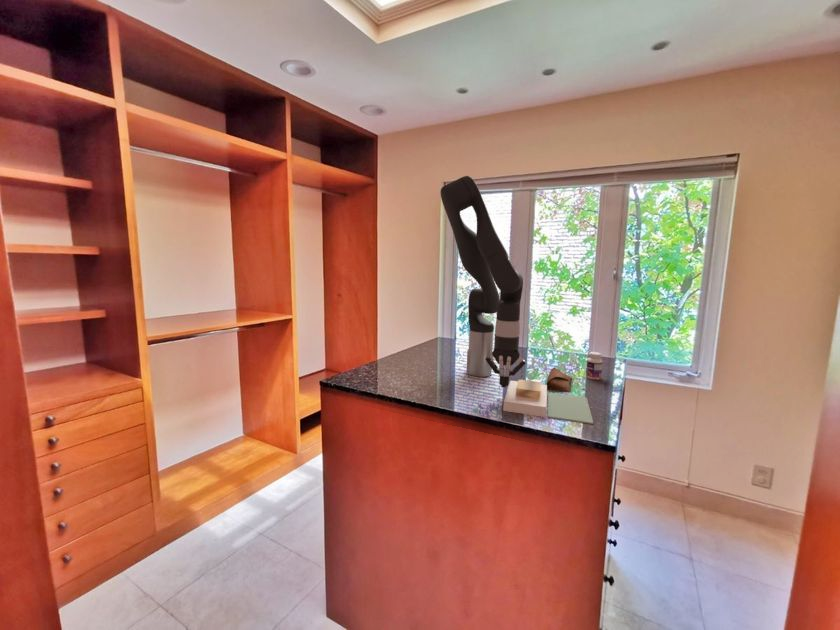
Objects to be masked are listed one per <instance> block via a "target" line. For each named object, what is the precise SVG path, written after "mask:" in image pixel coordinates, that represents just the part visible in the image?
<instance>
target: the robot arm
mask: <svg viewBox="0 0 840 630" xmlns="http://www.w3.org/2000/svg"><path fill="white" fill-rule="evenodd" d="M440 198H441V202H442V205H443V208H444V210H445V213H446V216H447V218H448V221H449V224H450V227H451V229H452V232H453V236H454V240H455V242H456V247H457V251H458V255H459V258H460V262H461V264H462V267H463V268H464V269H465V271H466V272H467V273H468V274H469V275H470V276H471V277H472V278H473V279H474V280H475V281H476V282H477V283H478V284H479V286H480V288H479V287H478V288H477V287H475V288H473V289H472V290H470V293H469V296H468V305H467V306H468V307H467V309H468V326H469V330H468V331H469V332H468V334H469V335H468V349H467V351H466V353H467V354H466V373H465V374H466V375H470V376H473V377H480V378H483V377H489V376H491V375H492V372H493V373H494V374H497V375H499V385H500V387H501V388H505V389H506V388H507V387H509V384H510V377H511V376H513V377H514V376H515V375H516V374H517V373H518V372H519V371H520V370H521V369H522V368H524V366H525V365H526V362H527V360H526V359H523V357H521V356H520V355H521V354H520V352H519V348H520V347H519V346H520V345H519V344H520V334H521V330H520V329H521V328H520V326H521V325H520V320H521V319H520V318H521V317H520V315H521V313H520V312H521V300H522V294H523V289H524V288H523V286H524V278H523V276H522V274H521V272H519V271H518V270H515V269H514V267H513V264H512V263H511V261H510V260H509V254H508V251H507V250H506V247H505V246H504V244H503V243H502V240H501V239H500V237H499V235H498V234H497V232H496V230H495V227H494V224H493V221H492V219H491V217H490V214H489V212H488V208H487V206H486V203H485V201H484V199H483V196H482V194H481V191H480V188H479V187H478V185H477V183H476V181H475V180H474V179H473V178H472V177H471V176H469V175H465V176H461V177H460V178H458V179H454V180H453V181H451V182H448V183H447V184H445V185H443V186H442V187H441V188H440ZM471 207H472V208H473V211H474V212H475V216H476V232H475V231H474V230H473V229H471V228H470V227H468V225H466V223H465V222H464V220H463V218H462V216H461V211H464V210H466V209H468V208H471ZM498 290H500V293H499V291H498ZM495 313H496V320H495V325H494V323H493V322H491V321H489V320H488V319H486V318H485V317H484V315H483V314H488V315H489V314H490V315H491V314H492V315H493V314H495ZM494 360H495V361H494ZM495 362H496V363H495ZM516 362H517V365H516V366H515V367H514V368H513V369H511V367H512V366H513V365H514V364H515V363H516ZM496 364H498V365H496Z"/></svg>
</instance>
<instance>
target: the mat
mask: <svg viewBox="0 0 840 630" xmlns="http://www.w3.org/2000/svg"><path fill="white" fill-rule="evenodd" d="M591 412H592V411H591V409H590V405H589V402H588V398H587V397H585V396H580V395H572V394H571V395H569V394H561V393H554V392H547V418H551V419H557V420H562V421H563V420H564V421H571V422H576V423H581V424H583V423H584V424H590V425H593V424H594V420H593V416H592V413H591Z"/></svg>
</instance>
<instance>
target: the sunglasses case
mask: <svg viewBox="0 0 840 630" xmlns="http://www.w3.org/2000/svg"><path fill="white" fill-rule="evenodd" d="M572 380H573V377H572V376H570V375H568V374H566V373H564V372H562V371H561V370H560V369H558V368H556V367H552V369H550V372H549V373H548V377H547V380H546V384H545V385H547V391H548V390H549V391H555V392H563V393H571V382H572Z"/></svg>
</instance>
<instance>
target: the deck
mask: <svg viewBox="0 0 840 630" xmlns="http://www.w3.org/2000/svg"><path fill="white" fill-rule="evenodd" d="M517 384H518V380H510V379H509V384H508V386H507V390H506V394H505V396H504V400H503V407H502V408H503V409H502V411H503V412H510V413H516V414H522V415H530V416H537V417H544V418H546V417H547V406H548V390H547V385H546V384H543V383H541V387H540V399H533V398H526V397H519V396H516V388H517Z"/></svg>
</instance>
